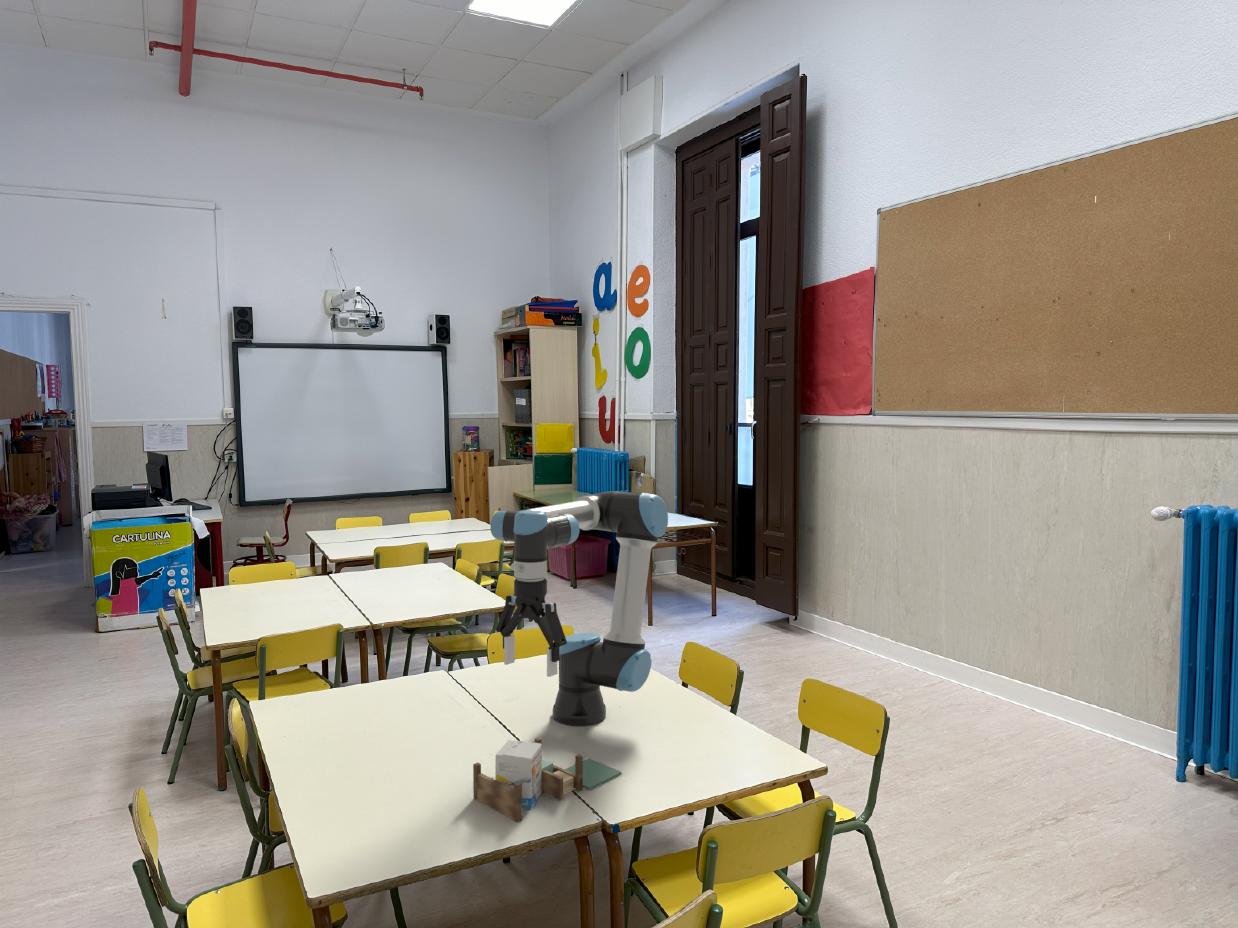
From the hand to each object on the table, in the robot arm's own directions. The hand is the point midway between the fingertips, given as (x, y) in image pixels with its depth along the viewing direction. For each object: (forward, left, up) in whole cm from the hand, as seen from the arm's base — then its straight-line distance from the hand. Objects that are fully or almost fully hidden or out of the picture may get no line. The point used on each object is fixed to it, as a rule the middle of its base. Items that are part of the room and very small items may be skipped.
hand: (530, 669), depth 186 cm
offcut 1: (+1, +2, -25) cm, 25 cm away
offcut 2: (+7, +2, -27) cm, 28 cm away
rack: (+4, -4, -27) cm, 28 cm away
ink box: (+4, -7, -27) cm, 29 cm away
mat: (+7, +12, -27) cm, 31 cm away
